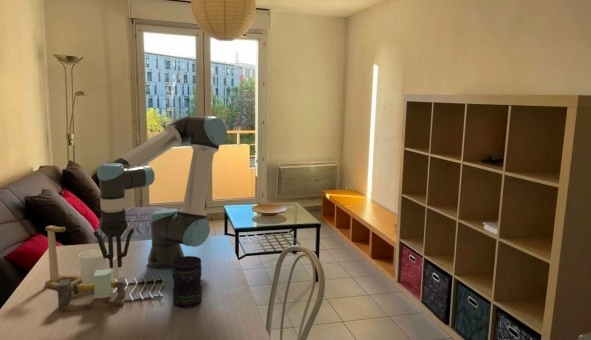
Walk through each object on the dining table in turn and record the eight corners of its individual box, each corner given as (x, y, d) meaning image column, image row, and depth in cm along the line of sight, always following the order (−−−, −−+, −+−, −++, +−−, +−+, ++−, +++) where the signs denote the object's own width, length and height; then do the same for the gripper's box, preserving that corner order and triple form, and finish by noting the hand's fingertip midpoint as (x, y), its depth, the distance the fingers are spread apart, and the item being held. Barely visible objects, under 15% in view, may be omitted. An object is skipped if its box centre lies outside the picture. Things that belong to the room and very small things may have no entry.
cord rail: (125, 295, 151) (124, 272, 150) (123, 305, 143) (122, 281, 142) (63, 301, 145) (61, 278, 144) (57, 312, 138) (56, 287, 136)
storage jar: (168, 300, 148) (167, 259, 145) (194, 293, 154) (194, 254, 151) (179, 311, 140) (178, 268, 138) (206, 303, 146) (206, 262, 143)
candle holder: (80, 291, 153) (78, 259, 151) (80, 281, 162) (78, 251, 160) (109, 286, 158) (108, 255, 156) (108, 276, 166) (106, 247, 165)
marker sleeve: (112, 288, 148) (111, 268, 147) (110, 295, 143) (109, 274, 142) (97, 290, 146) (96, 270, 145) (94, 296, 142) (93, 275, 141)
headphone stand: (66, 291, 153) (62, 232, 150) (40, 287, 155) (36, 230, 152) (86, 279, 163) (83, 224, 160) (61, 276, 166) (58, 222, 162)
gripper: (134, 206, 147) (137, 270, 151) (93, 208, 143) (97, 274, 147) (133, 211, 140) (135, 278, 143) (90, 213, 136) (93, 282, 140)
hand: (116, 276), depth 145 cm, fingers closed
